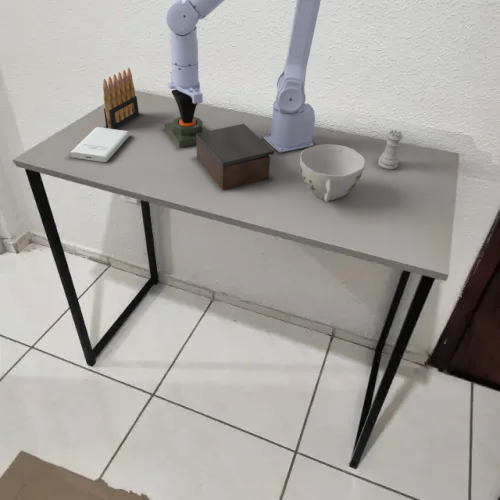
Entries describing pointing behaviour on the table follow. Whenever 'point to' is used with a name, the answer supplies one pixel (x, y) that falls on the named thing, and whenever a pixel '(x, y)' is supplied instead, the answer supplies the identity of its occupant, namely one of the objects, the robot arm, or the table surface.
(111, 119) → the ammunition clip
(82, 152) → the hard drive
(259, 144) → the lid
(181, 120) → the button
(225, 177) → the wooden lidded box
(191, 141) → the control block
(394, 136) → the rook chess piece
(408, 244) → the table surface
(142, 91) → the table surface
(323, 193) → the teacup
